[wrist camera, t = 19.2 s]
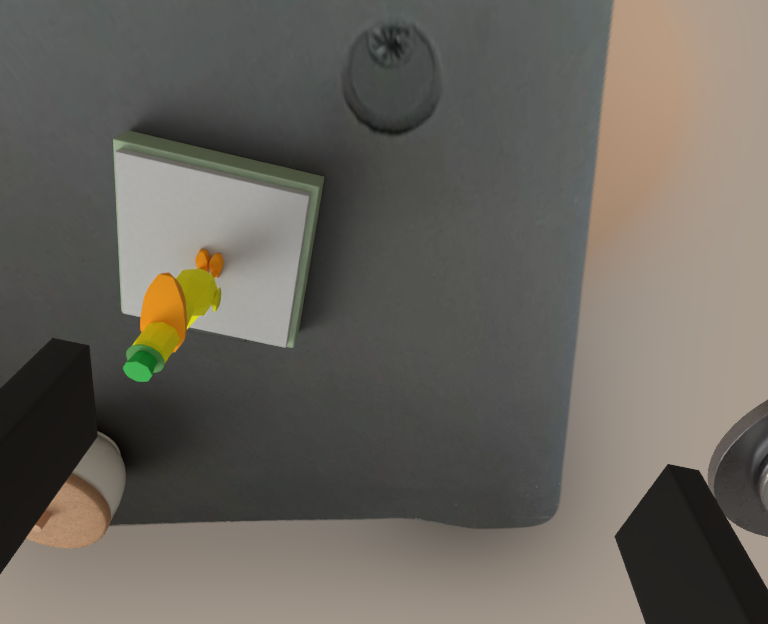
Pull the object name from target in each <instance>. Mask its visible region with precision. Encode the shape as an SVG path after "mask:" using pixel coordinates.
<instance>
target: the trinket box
mask: <svg viewBox="0 0 768 624" xmlns="http://www.w3.org/2000/svg"><path fill="white" fill-rule="evenodd" d="M97 432H98V437H97V438H96V440H95V441H94V443H93V444H92V445H91V447H90V448H89V450H88V451H87V452H86V454H85V455H84V457H83V458H82V459H81V461H80V462H79V464H78V465H77V467H76V468H75V469H74V471H73V472H72V474H71V475H70V476H69V478H68V479H67V481H66V482H65V483H64V485H63V486H62V488H61V489H60V491H59V492H58V493H57V495H56V496H55V498H54V499H53V500H52V502H51V503H50V505H49V506H48V508H47V509H46V510H45V512H44V513H43V515H42V516H41V517H40V519H39V520H38V522H37V523H36V524H35V526H34V527H33V529H32V530H31V532H30V533H29V534H28V536H27V537H26V538H27V539H29V540H32V541H34V542H37V543H40V544H44V545H48V546H52V547H59V548H78V547H84V546H87V545H90V544H92V543H95V542H96V541H98V540H99V539H100V538H102V536H103V535H104V534H105V532H106V530H107V528H108V526H109V524H110V522H111V519H112V517H113V515H114V513H115V512H116V510H117V507H118V505H119V503H120V500H121V498H122V495H123V492H124V488H125V481H126V472H125V466H124V463H123V460H122V457H121V453H120V450H119V448H118V446H117V445H116V444H115V442H114V441H113V440H112V439H110V438H109V437H108V436H106V435H105V434H103V433H101V432H99V431H97Z"/></svg>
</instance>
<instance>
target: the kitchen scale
mask: <svg viewBox="0 0 768 624" xmlns="http://www.w3.org/2000/svg"><path fill="white" fill-rule="evenodd" d="M113 148H114V168H115V189H116V209H117V229H118V249H119V270H120V290H121V310H122V312H123V313H124V314H129V315H133V316H138V317H141V310H142V305H143V299H144V296H145V293H146V291H147V289H148V287H149V285H150V284H151V283H152V282H153V280H154V279H155V278H156V277H157V275H158V274H161V273H167V272H169V273H170V274H171V275H172V276H174V278H175V279H176V277H177V276H178V275H179V274H180V273H181V271H182V270H188V269H198V268H197V266H196V263H195V258H196V256H197V254H198V252H199V250H200V249H205V250H208V253H209V255H210V260H211V259H212V257H213V255H214V254H215V253H219V254H222V256H223V260H224V265H223V268H222V271H221V273H220V276H219V278H216V277H215V278H214V279H215V282H216V285H217V288H218V289H219V287H221V301H220V305H219V307H218V309H217V311H216V312H214V311H213V310H212V305H211V306H210V308H209V309H208V311H207V312H206V314H205V315H204V316H199V317H198V318H197V319H196V320H195V321H194V322H193V324H192V325H191V326H190V327H189V328H188V329H187V330H191V331H196V332H200V333H205V334H210V335H215V336H219V337H224V338H229V339H234V340H238V341H243V342H246V340H252V341H256V342H261V343H266V344H270V345H275V346H280V347H285V348H286V347H290V348H293V347H294V344H295V341H296V339H297V336H298V333H299V327H300V321H301V315H302V309H303V303H304V298H305V292H306V286H307V280H308V274H309V268H310V262H311V256H312V250H313V244H314V238H315V232H316V226H317V220H318V214H319V208H320V202H321V196H322V190H323V184H324V176H320V175H315V174H311V173H307V172H303V171H299V170H294V169H290V168H286V167H282V166H277V165H273V164H269V163H265V162H260V161H256V160H252V159H248V158H243V157H239V156H235V155H231V154H226V153H222V152H218V151H214V150H210V149H205V148H201V147H197V146H193V145H188V144H184V143H180V142H176V141H171V140H167V139H163V138H159V137H154V136H150V135H146V134H142V133H138V132H133V131H128V132H126V133H124V134H122V135H120V136H118V137H116V138H114V139H113ZM208 273H210V274H211V272H210V268H208Z"/></svg>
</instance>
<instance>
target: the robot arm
mask: <svg viewBox="0 0 768 624" xmlns="http://www.w3.org/2000/svg"><path fill="white" fill-rule="evenodd" d="M97 437H98V432H97V422H96V411H95V401H94V390H93V380H92V369H91V359H90V348H89V345H84V344H80V343H75V342H70V341H65V340H60V339H55V338H52V339H51V340H50V341H49V342H48V343H47V344H46V345H45V346H44V347H43V348H42V349H41V350H40V351H39V352H38V353H37V354H36V355H35V356H33V357H32V358H31V359H30V360H29V361H28V362H27V363H26V364H25V365H24V366H23V367H22V368H21V369H20V370H19V371H18V372H17V373H16V374H15V375H14V376H13V377H12V378H11V379H10V380H9V381H8V382H7V383H6V384H5V385H4V386H3V387H1V388H0V574H1V572H2V571H3V569H4V568H5V567H6V565H7V564H8V563H9V561H10V560H11V558H12V557H13V556H14V554H15V553H16V551H17V550H18V548H19V547H20V546H21V544H22V543H23V541H24V540H25V539H26V537H27V536H28V534H29V533H30V532H31V530H32V529H33V527H34V526H35V524H36V523H37V522H38V520H39V519H40V517H41V516H42V515H43V513H44V512H45V510H46V509H47V508H48V506H49V505H50V503H51V502H52V500H53V499H54V498H55V496H56V495H57V493H58V492H59V491H60V489H61V488H62V486H63V485H64V483H65V482H66V481H67V479H68V478H69V476H70V475H71V474H72V472H73V471H74V469H75V468H76V467H77V465H78V464H79V462H80V461H81V459H82V458H83V457H84V455H85V454H86V452H87V451H88V450H89V448H90V447H91V445H92V444H93V443H94V441H95V440H96V438H97ZM754 486H755V491H756V494H757V496H758V498H759V499H760V501H761V502H762V504H763V505H764V507H765V508H766V510H767V511H768V454H767V455H766V456H765V457H764V459H763V460H762V462H761V463H760V465H759V467H758V469H757V472H756V474H755V479H754ZM615 539H616V542H617V544H618V547H619V550H620V553H621V556H622V558H623V561H624V564H625V567H626V570H627V572H628V575H629V578H630V581H631V583H632V586H633V589H634V592H635V595H636V598H637V601H638V603H639V606H640V609H641V612H642V614H643V617H644V620H645V623H646V624H768V589H767V587H766V586H765V584H764V582H763V581H762V579H761V577H760V575H759V573H758V572H757V570H756V568H755V567H754V565H753V563H752V561H751V560H750V558H749V556H748V554H747V553H746V551H745V549H744V547H743V546H742V544H741V542H740V541H739V539H738V537H737V535H736V534H735V532H734V530H733V529H732V527H731V525H730V523H729V521H728V520H727V518H726V516H725V515H724V513H723V511H722V509H721V508H720V506H719V504H718V502H717V501H716V499H715V497H714V496H713V494H712V492H711V490H710V489H709V487H708V485H707V483H706V482H705V480H704V478H703V476H702V475H701V473H700V472H699V470H695V469H690V468H685V467H680V466H675V465H670V464H668V465H667V466H666V467H665V469H664V470H663V471H662V473H661V474H660V476H659V477H658V478H657V480H656V481H655V482H654V484H653V485H652V487H651V488H650V489H649V490H648V492H647V493H646V494H645V496H644V497H643V498H642V500H641V501H640V503H639V504H638V505H637V507H636V508H635V509H634V511H633V512H632V513H631V515H630V516H629V518H628V519H627V520H626V522H625V523H624V524H623V526H622V527H621V528H620V530H619V531H618V532H617V534H616V535H615Z"/></svg>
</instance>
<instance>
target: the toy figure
mask: <svg viewBox="0 0 768 624" xmlns="http://www.w3.org/2000/svg"><path fill="white" fill-rule="evenodd" d="M195 263H196V266H197V268H198V269H188V270H182V271H181V273H180V274H179V275H178V276H177V277H176V279H175V278H174V276H172V275H171V274H170V273H169V272H167V273H161V274H158V275H157V277H156V278H155V279H154V280H153V282H152V283H151V284H150V285H149V287H148V289H147V291H146V293H145V296H144V299H143V305H142V310H141V322H140V330H141V331H142V333H141V334H140V336H139V337H138V338H137V339H136V341H135V342H134V344H133V345H132V346H131V347H130V348H128V350H127V352H126V356H127V359H128V361H127V362H126V364H125V365H124V367H123V370H124V372H125V373H126V375H127V377H129V378H131V379H133V380H135V381H138V382H143V381H149V379H150V378H151V376H152V374H153V373H156V372H159V371H161V370H162V369H163V367H164V364H165V362H166V361H167V359H168V358H169V356H170V355H171V353H172V352H176V350H177V349H178V348H179V346H180V345H181V344H182V342H183V341H184V339H185V337H186V331H187V329H188V328H189V327H190V326H191V325H192V324H193V322H194V321H195V320H196V319H197V318H198V317H199V316H204V315H205V314H206V312H207V311H208V309H209V308H210V306H211V305H212V310H213V311H214V312H216V311H217V309H218V307H219V305H220V301H221V287H219V289H218V288H217V285H216V282H215V279H214V278H215V277H216V278H219V276H220V273H221V271H222V268H223V265H224V260H223V256H222V254H219V253H215V254H214V255H213V257H212V259H211V260H210V255H209V253H208V250H205V249H200V250H199V252H198V254H197V256H196V258H195ZM208 268H210V272H211V274H210V273H208Z"/></svg>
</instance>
